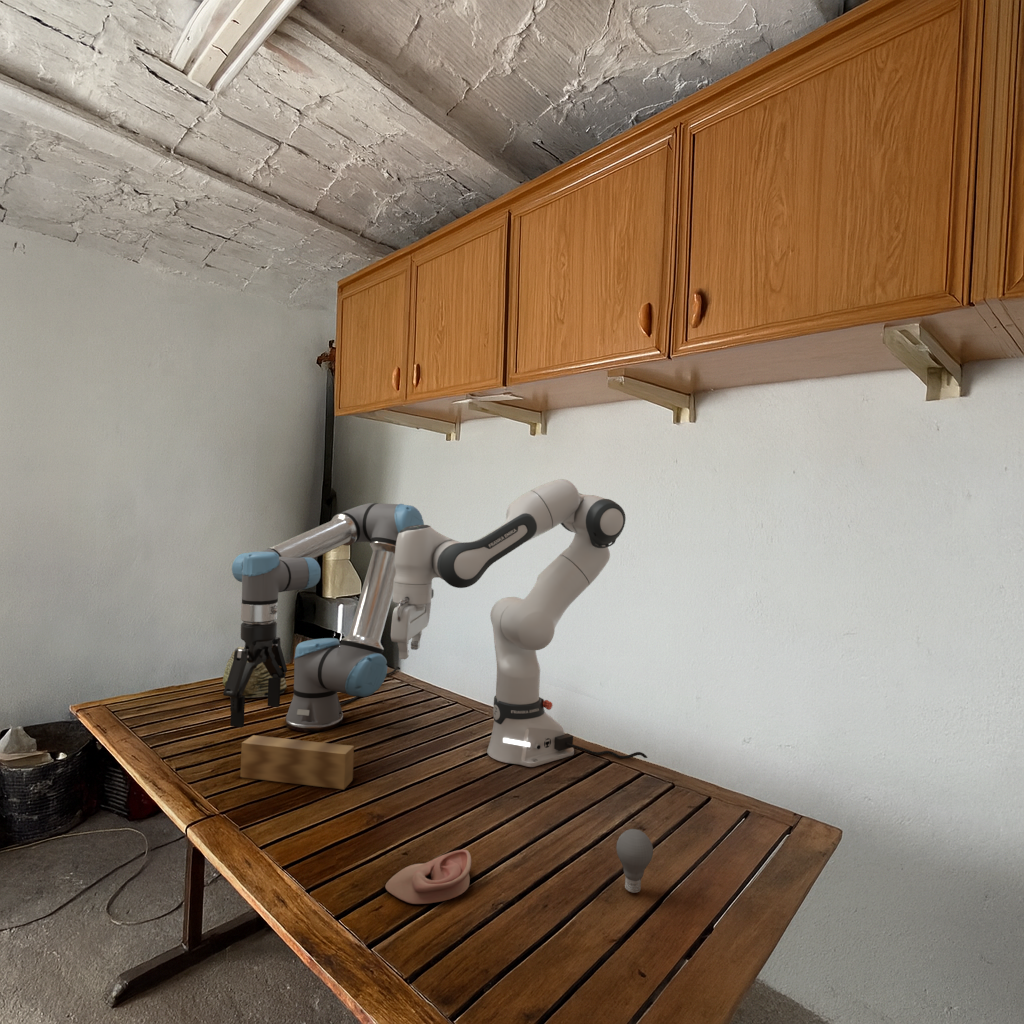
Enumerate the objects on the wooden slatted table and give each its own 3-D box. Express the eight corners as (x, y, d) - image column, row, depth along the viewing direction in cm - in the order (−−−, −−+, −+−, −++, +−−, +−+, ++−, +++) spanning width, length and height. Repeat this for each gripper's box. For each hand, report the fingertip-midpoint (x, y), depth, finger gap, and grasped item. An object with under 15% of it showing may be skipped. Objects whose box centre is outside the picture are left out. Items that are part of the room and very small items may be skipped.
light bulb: (610, 879, 108) (613, 822, 108) (644, 879, 109) (647, 822, 109) (619, 902, 102) (622, 840, 102) (655, 901, 103) (658, 840, 103)
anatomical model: (378, 873, 101) (404, 836, 112) (377, 898, 101) (403, 858, 112) (458, 887, 98) (477, 848, 109) (457, 912, 98) (476, 870, 109)
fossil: (218, 695, 195) (220, 647, 195) (278, 685, 208) (279, 640, 207) (228, 703, 189) (230, 653, 188) (289, 692, 201) (290, 645, 201)
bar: (240, 777, 141) (241, 742, 141) (252, 768, 146) (253, 735, 146) (344, 789, 137) (345, 754, 137) (352, 780, 142) (354, 745, 142)
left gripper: (239, 634, 128) (236, 737, 129) (303, 613, 153) (301, 700, 153) (206, 631, 130) (203, 733, 130) (275, 610, 154) (273, 697, 155)
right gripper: (413, 602, 137) (410, 666, 137) (435, 589, 157) (433, 645, 157) (385, 600, 137) (382, 663, 137) (410, 587, 158) (408, 643, 158)
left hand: (256, 715), depth 142 cm, fingers open, 13 cm apart
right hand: (409, 653), depth 147 cm, fingers open, 8 cm apart
